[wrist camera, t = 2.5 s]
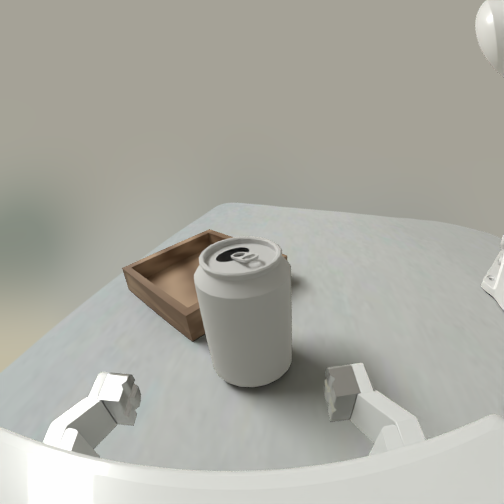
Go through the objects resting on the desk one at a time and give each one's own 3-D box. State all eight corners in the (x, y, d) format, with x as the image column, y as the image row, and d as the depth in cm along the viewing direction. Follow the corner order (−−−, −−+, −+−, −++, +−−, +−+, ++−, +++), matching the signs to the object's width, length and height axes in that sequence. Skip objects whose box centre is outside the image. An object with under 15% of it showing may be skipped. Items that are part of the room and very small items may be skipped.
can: (257, 327, 33) (248, 224, 28) (308, 363, 28) (312, 248, 22) (199, 360, 29) (173, 252, 24) (246, 407, 24) (227, 290, 18)
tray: (212, 248, 52) (209, 229, 50) (287, 278, 41) (287, 255, 40) (128, 289, 42) (122, 268, 40) (192, 341, 32) (185, 316, 30)
